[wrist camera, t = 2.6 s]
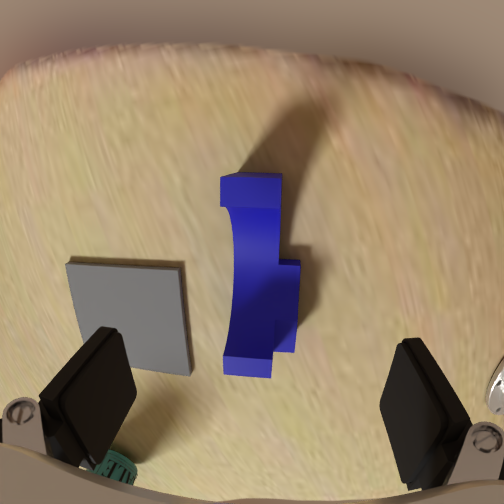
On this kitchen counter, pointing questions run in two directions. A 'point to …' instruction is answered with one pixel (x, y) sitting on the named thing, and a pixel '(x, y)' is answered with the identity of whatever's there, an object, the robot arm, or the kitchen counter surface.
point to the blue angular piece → (258, 276)
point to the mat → (134, 311)
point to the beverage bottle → (116, 468)
